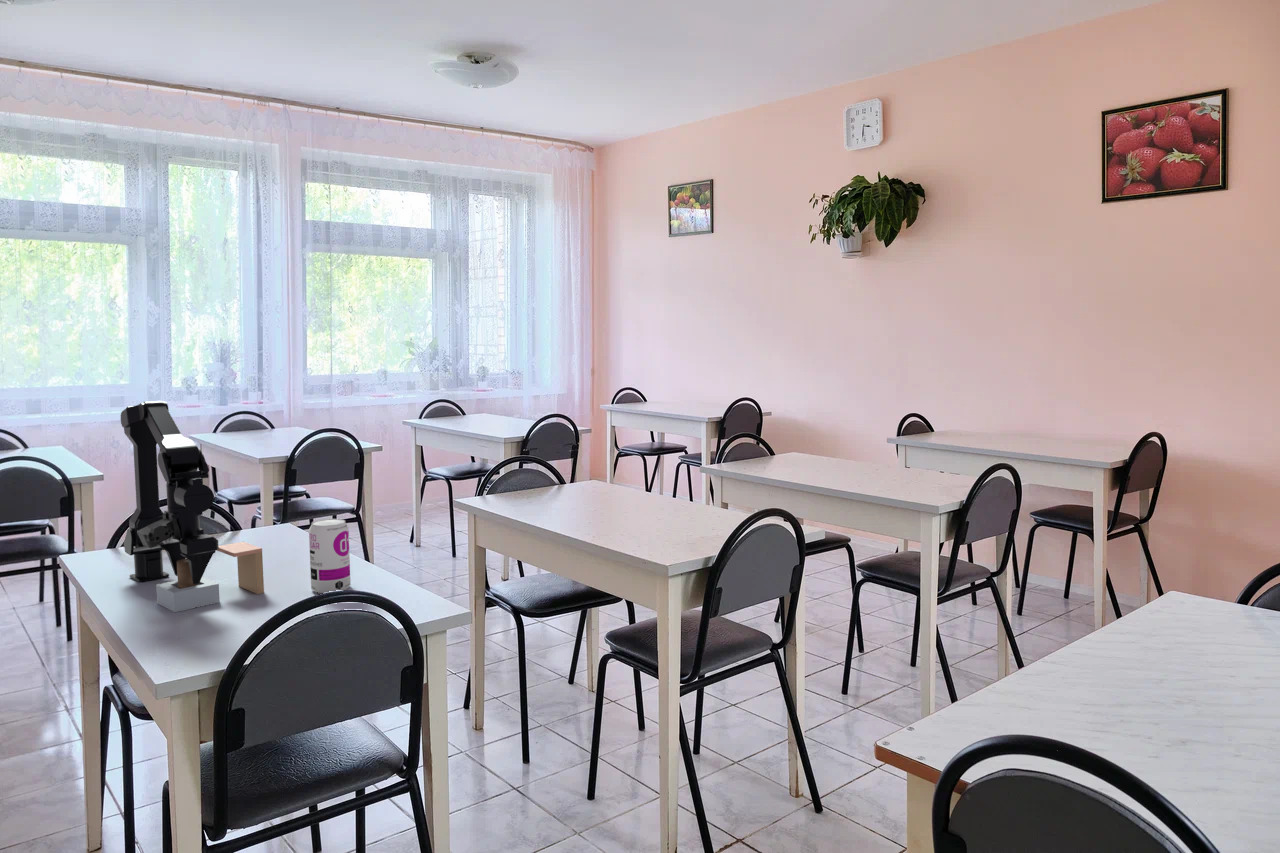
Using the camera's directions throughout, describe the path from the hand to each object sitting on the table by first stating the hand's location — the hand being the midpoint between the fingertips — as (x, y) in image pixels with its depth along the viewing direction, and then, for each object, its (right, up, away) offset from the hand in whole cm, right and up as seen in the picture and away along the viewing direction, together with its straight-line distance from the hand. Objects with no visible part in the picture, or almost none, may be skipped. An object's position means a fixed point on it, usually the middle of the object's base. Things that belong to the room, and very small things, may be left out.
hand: (187, 579), depth 189 cm
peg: (0, -5, 0) cm, 5 cm away
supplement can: (+26, -4, +10) cm, 29 cm away
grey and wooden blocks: (+3, -5, +4) cm, 7 cm away
